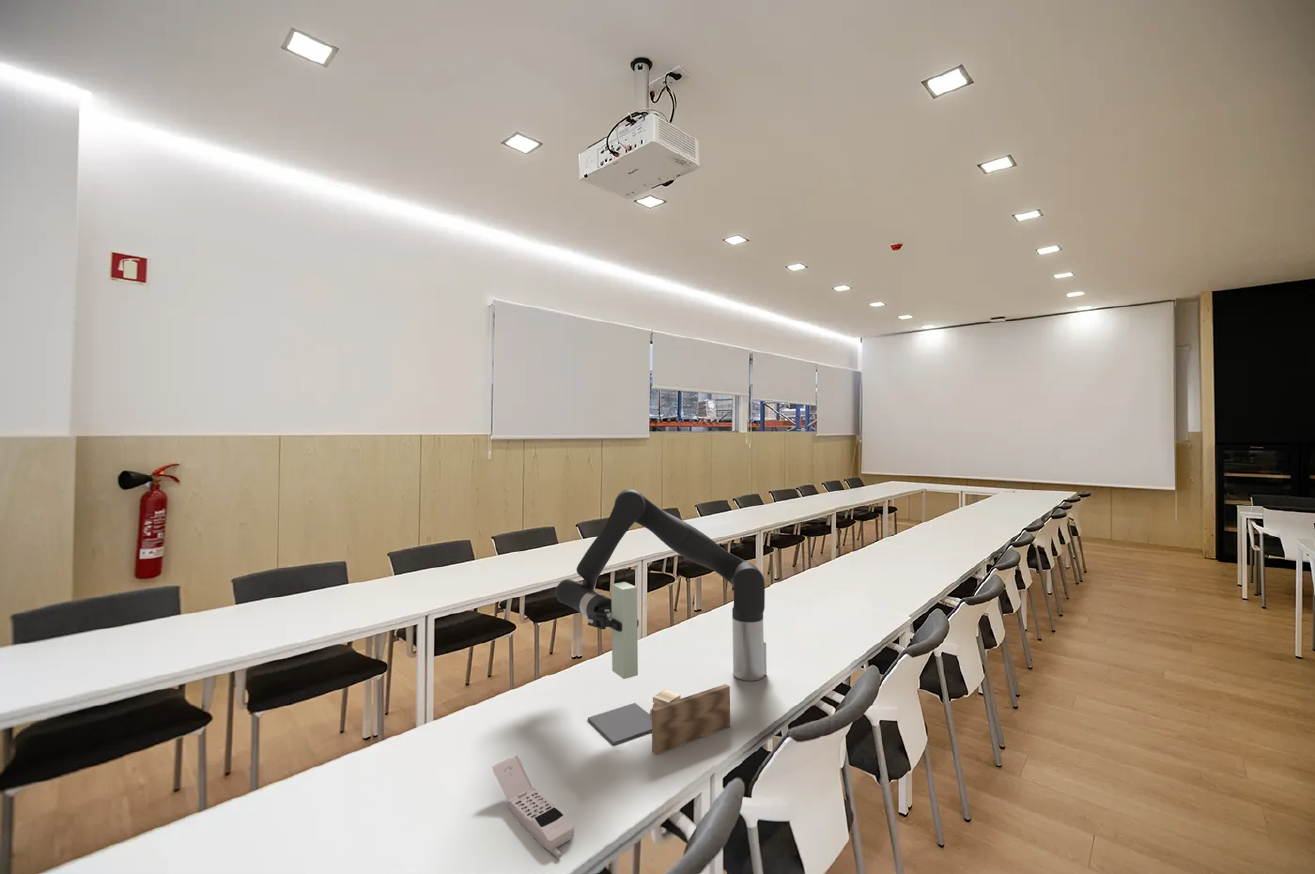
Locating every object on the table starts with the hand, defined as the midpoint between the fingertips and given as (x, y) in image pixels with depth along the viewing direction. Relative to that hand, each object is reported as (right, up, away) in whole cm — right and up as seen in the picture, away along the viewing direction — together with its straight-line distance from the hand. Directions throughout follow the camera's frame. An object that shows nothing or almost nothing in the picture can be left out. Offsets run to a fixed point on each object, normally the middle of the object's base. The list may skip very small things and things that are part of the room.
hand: (628, 625), depth 137 cm
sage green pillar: (-1, -13, +2) cm, 13 cm away
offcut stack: (+10, -26, +8) cm, 28 cm away
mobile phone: (-16, -26, -32) cm, 44 cm away
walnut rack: (+14, -25, -2) cm, 29 cm away
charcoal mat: (-1, -25, +2) cm, 26 cm away
